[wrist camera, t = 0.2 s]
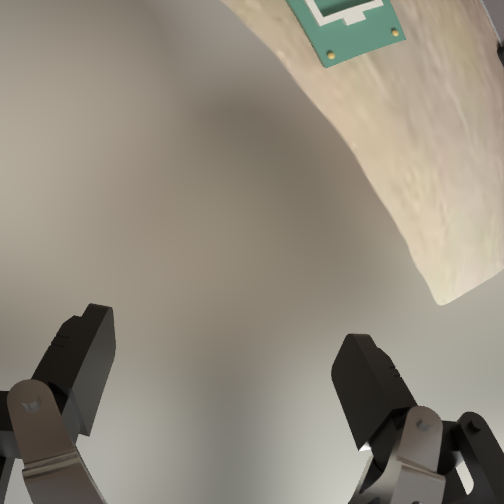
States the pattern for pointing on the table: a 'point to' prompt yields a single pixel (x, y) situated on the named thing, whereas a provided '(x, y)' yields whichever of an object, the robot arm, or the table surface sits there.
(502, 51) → the smart home device
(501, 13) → the smartphone
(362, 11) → the header board
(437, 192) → the table surface
